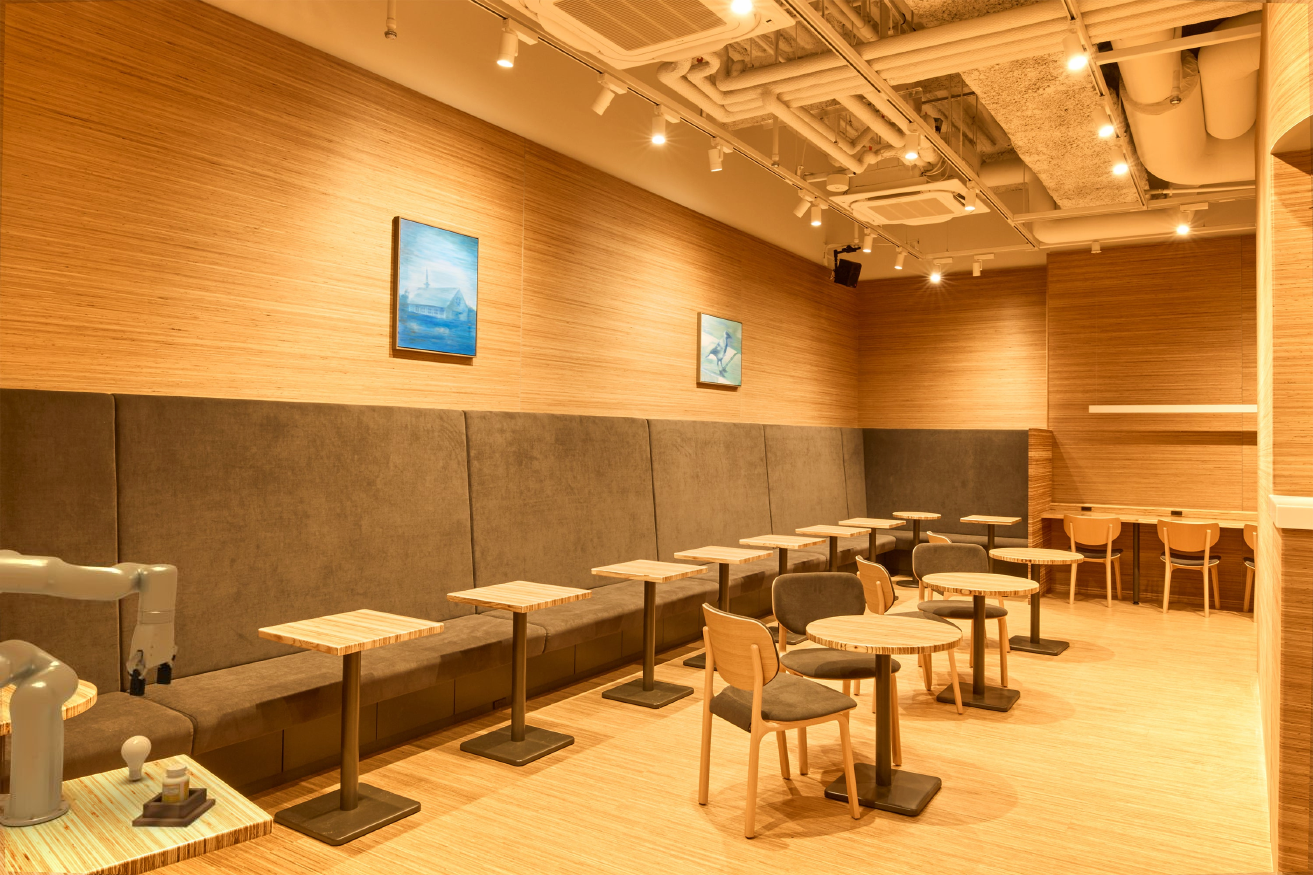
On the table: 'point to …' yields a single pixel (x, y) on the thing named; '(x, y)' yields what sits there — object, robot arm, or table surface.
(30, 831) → the table surface
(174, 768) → the supplement bottle
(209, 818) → the table surface
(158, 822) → the holder
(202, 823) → the table surface
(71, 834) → the table surface
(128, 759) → the lightbulb
